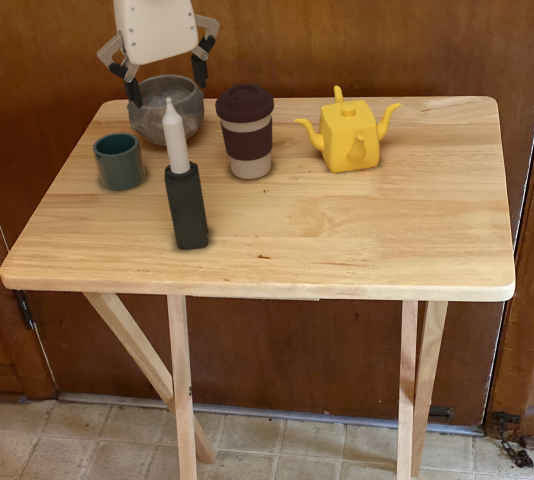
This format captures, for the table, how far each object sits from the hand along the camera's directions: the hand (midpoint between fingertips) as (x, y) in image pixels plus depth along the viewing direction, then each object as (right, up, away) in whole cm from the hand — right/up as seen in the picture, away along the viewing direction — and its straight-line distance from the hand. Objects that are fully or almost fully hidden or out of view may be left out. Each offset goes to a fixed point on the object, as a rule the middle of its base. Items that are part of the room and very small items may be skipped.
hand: (169, 94), depth 115 cm
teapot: (+28, -2, +33) cm, 43 cm away
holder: (-12, -6, +33) cm, 35 cm away
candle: (+2, -19, +17) cm, 26 cm away
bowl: (-5, +4, +42) cm, 43 cm away
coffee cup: (+11, -5, +32) cm, 34 cm away
